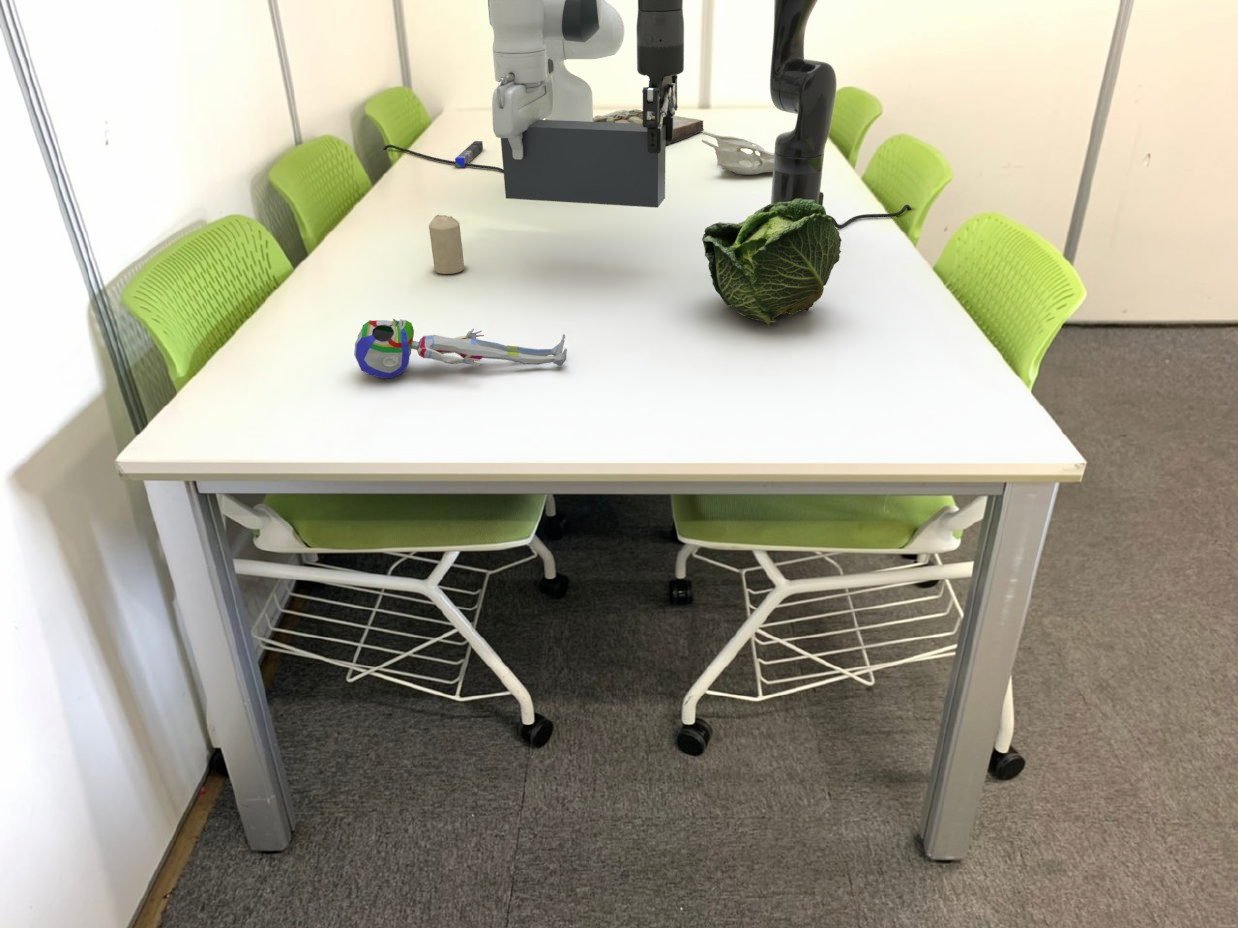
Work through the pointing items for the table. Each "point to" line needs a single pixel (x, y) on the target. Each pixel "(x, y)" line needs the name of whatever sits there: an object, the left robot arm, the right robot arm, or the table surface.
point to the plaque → (680, 124)
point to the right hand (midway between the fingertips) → (660, 146)
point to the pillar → (468, 154)
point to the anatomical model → (741, 155)
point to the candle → (446, 244)
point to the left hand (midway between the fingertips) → (526, 153)
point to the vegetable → (773, 259)
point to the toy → (435, 349)
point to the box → (586, 164)
